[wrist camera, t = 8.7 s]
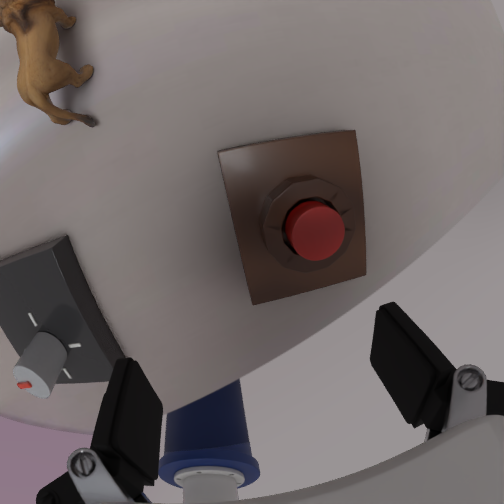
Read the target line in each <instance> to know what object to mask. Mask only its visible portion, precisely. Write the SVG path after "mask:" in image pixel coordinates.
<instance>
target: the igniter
mask: <svg viewBox="0 0 504 504" xmlns="http://www.w3.org/2000/svg"><path fill="white" fill-rule="evenodd" d="M217 153H218V158H219V162H220V167H221V171H222V176H223V180H224V184H225V189H226V193H227V198H228V202H229V207H230V211H231V215H232V220H233V224H234V229H235V233H236V237H237V242H238V246H239V250H240V255H241V259H242V263H243V267H244V272H245V276H246V280H247V284H248V289H249V293H250V297H251V301H252V305H257V304H261V303H265V302H269V301H273V300H277V299H281V298H285V297H289V296H293V295H297V294H300V293H304V292H308V291H312V290H315V289H319V288H323V287H326V286H330V285H333V284H337V283H340V282H344V281H347V280H351V279H354V278H358V277H361V276H364V275H366V237H365V217H364V202H363V190H362V179H361V170H360V161H359V153H358V145H357V138H356V131H355V130H341V131H332V132H323V133H315V134H308V135H301V136H294V137H287V138H281V139H275V140H269V141H264V142H258V143H253V144H248V145H243V146H238V147H233V148H229V149H224V150H220V151H217ZM306 201H319V202H321V203H324V204H325V205H327V206H328V207H330V208H332V209H333V210H335V211H336V212H337V213H338V214H339V215H340V216H341V218H342V220H343V223H344V228H345V234H344V239H343V242H342V244H341V246H340V247H339V249H338V250H337V251H336V252H335V253H334V254H333V255H331V256H330V257H328V258H326V259H323V260H318V261H313V260H308V259H305V258H303V257H301V256H300V255H299V254H298V253H297V252H296V250H295V249H294V248H293V246H292V245H291V244H290V242H289V241H288V239H287V236H286V233H285V225H286V220H287V218H288V216H289V214H290V212H291V211H292V210H293V209H294V208H295V207H296V206H298V205H299V204H301V203H303V202H306Z"/></svg>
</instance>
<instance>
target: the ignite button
mask: <svg viewBox="0 0 504 504" xmlns="http://www.w3.org/2000/svg"><path fill="white" fill-rule="evenodd" d="M285 233H286V236H287V239H288V241H289V242H290V244H291V245H292V246H293V248H294V249H295V250H296V252H297V253H298V254H299V255H300V256H301V257H303V258H305V259H308V260H313V261H318V260H323V259H326V258H328V257H330V256H331V255H333V254H334V253H335V252H336V251H337V250H338V249H339V247H340V246H341V244H342V242H343V239H344V234H345V228H344V223H343V220H342V218H341V216H340V215H339V214H338V213H337V212H336V211H335V210H333V209H332V208H330V207H328V206H327V205H325V204H324V203H321V202H319V201H306V202H303V203H301V204H299V205H298V206H296V207H295V208H294V209H293V210H292V211H291V212H290V214H289V216H288V218H287V220H286V225H285Z"/></svg>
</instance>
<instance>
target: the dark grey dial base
mask: <svg viewBox="0 0 504 504" xmlns="http://www.w3.org/2000/svg"><path fill="white" fill-rule="evenodd" d="M0 326H1V328H2V329H3V331H4V333H5V334H6V336H7V338H8V339H9V341H10V343H11V344H12V346H13V347H14V349H15V350H16V352H17V353H18V355H19V356H20V357H21V355H22V354H23V352H24V351H25V349H26V347H27V346H28V344H29V343H30V341H31V340H32V338H33V337H34V335H35V334H36V333H38V332H46V333H49V334H51V335H53V336H54V337H56V338H57V339H58V340H59V341H60V342H61V343H62V344H63V346H64V347H65V349H66V352H67V360H66V362H65V364H64V366H63V368H62V370H61V372H60V375H59V377H58V379H57V381H56V383H55V384H67V383H90V382H105V381H110V377H111V374H112V371H113V368H114V365H115V362H116V360H117V359H120V358H125V356H124V354H123V352H122V351H121V349H120V347H119V346H118V344H117V342H116V340H115V338H114V337H113V335H112V333H111V331H110V329H109V327H108V326H107V324H106V322H105V320H104V318H103V316H102V314H101V312H100V310H99V308H98V306H97V304H96V302H95V300H94V298H93V296H92V294H91V291H90V289H89V287H88V285H87V283H86V280H85V278H84V276H83V273H82V271H81V269H80V266H79V264H78V262H77V259H76V257H75V254H74V252H73V249H72V246H71V244H70V241H69V238H68V236H64V237H61V238H58V239H55V240H52V241H50V242H47V243H44V244H42V245H39V246H36V247H34V248H31V249H28V250H26V251H23V252H21V253H18V254H16V255H13V256H11V257H8V258H6V259H3V260H1V261H0Z"/></svg>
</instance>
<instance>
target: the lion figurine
mask: <svg viewBox="0 0 504 504" xmlns="http://www.w3.org/2000/svg"><path fill="white" fill-rule="evenodd" d="M54 4H55V1H54V0H0V27H4V29H5V30H6V31H8V32H9V33H12V34H13V35H14V36H15V37H16V41H17V51H18V56H19V59H20V67H19V71H18V76H17V88H18V91H19V94H20V96H21V98H22V99H23V101H24V102H26V103H27V104H29V105H31V106H34V107H36V108H38V109H40V110H42V111H43V112H45V113H46V114H47V115H48V116H49V117H50V119H51V121H52V122H54V123H57V124H61V125H66V124H68V123H69V122H70V121H71V120H77V121H81V122H83V123H85V124H86V125H88V126H90V127H94V126H95V122H94V121H93V119H92V118H90V117H89V116H87V115H82V114H77V113H72V112H71V111H70V110H68V109H63V110H62V109H60V108H58V107H56V106H54V105H53V103H52V101H51V99H50V97H49V93H51V92H53V91H56V90H58V89H60V88H63V87H65V86H67V85H69V84H70V85H74V86H75V87H77V88H78V87H80V86H81V85H82V84H83V83H84V82H85V81H86V80H88V79H89V78H90V77H91V75H92V73H93V66H91V65H85V66H83V67H82V68H81V69H80V71H79V74H78V73H77V72H76V71H75V70H74V69H73V68H72V67H71V66H70V65H69V64H67V63H64V62H62V61H60V60H57V59H56V56H57V53H58V49H59V35H58V30H57V27H56V24H55V23H58V24H60V26H61V27H63V28H65V29H67V28H70V27H72V26H73V24H74V23H75V21H76V18H75V17H72V16H71V17H68V16H67V15H66V14H65V13H64V11H63V10H62V9H61V8H58V7H56V6H55V5H54Z"/></svg>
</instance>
